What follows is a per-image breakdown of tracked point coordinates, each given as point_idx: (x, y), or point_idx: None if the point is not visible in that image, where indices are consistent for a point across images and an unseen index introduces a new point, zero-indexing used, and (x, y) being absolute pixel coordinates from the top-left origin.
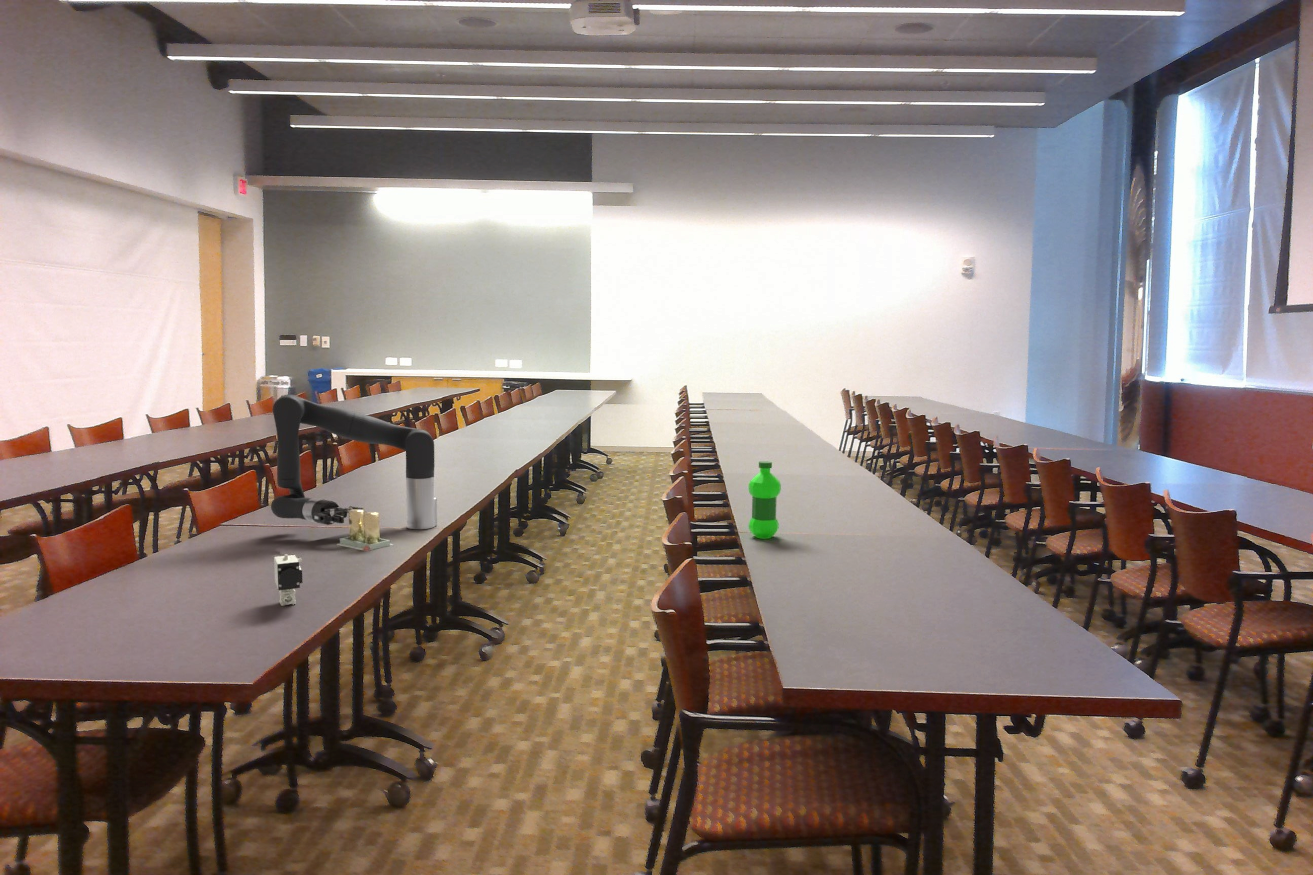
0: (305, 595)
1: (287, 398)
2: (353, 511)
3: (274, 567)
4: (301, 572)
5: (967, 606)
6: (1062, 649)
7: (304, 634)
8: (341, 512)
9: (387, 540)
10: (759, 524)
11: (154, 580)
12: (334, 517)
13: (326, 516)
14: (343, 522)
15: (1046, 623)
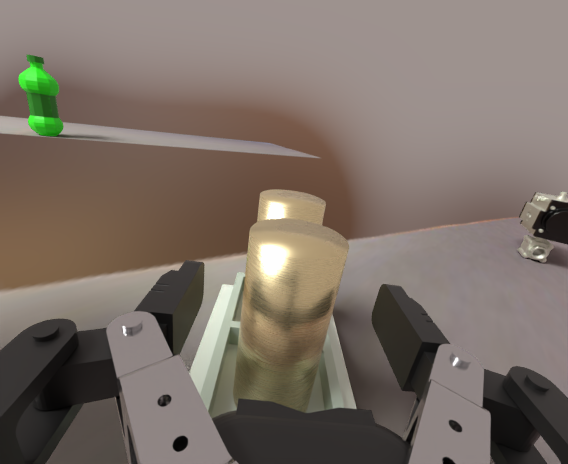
0: (506, 258)
1: None
2: (327, 237)
3: None
4: (525, 204)
5: (208, 139)
6: (244, 141)
7: (498, 223)
8: (301, 419)
9: (243, 275)
10: (60, 122)
11: None
12: (438, 333)
13: (519, 374)
14: (373, 316)
15: (219, 138)
